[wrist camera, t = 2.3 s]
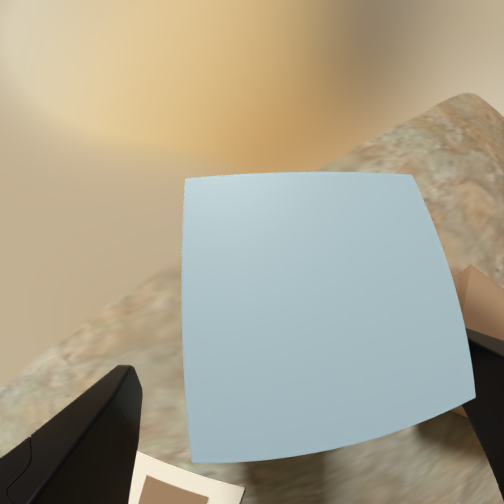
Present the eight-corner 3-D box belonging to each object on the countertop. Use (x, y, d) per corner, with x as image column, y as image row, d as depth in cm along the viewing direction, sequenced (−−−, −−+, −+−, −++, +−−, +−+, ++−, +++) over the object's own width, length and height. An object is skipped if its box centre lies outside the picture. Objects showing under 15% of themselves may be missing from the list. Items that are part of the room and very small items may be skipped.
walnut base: (481, 424, 12) (514, 422, 9) (408, 391, 14) (440, 388, 11) (506, 328, 16) (535, 314, 13) (442, 285, 17) (470, 264, 14)
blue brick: (321, 398, 14) (476, 397, 4) (230, 408, 14) (192, 462, 3) (310, 314, 17) (411, 174, 6) (223, 322, 16) (184, 178, 6)
